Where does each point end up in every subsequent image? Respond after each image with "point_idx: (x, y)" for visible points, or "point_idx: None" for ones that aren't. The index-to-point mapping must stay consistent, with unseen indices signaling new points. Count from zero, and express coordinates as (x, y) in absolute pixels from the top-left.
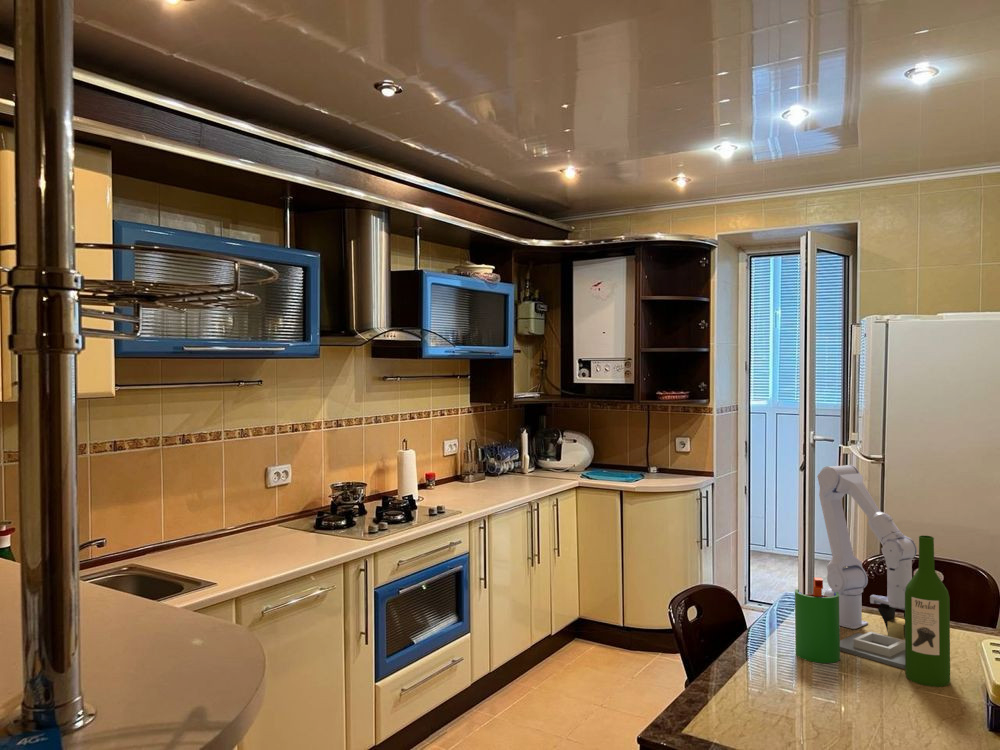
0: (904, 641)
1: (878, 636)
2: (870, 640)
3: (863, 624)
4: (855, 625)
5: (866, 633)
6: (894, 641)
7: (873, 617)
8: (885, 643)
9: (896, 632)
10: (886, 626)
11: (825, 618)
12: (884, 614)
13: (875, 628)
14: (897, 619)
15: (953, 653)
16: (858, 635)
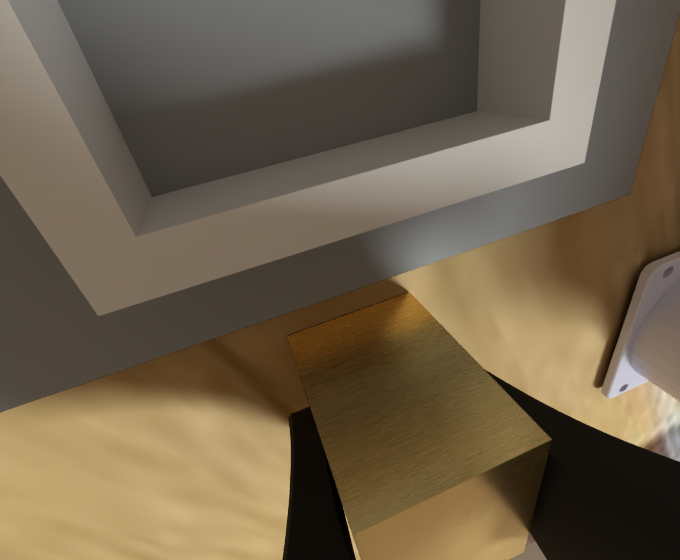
0: (63, 257)
1: (459, 135)
2: (491, 48)
3: (619, 358)
4: (653, 307)
5: (608, 15)
6: (237, 194)
7: None
8: (344, 150)
9: (387, 391)
10: (511, 390)
11: None
12: (668, 503)
13: (556, 386)
14: (493, 541)
15: (14, 554)
16: (617, 125)
